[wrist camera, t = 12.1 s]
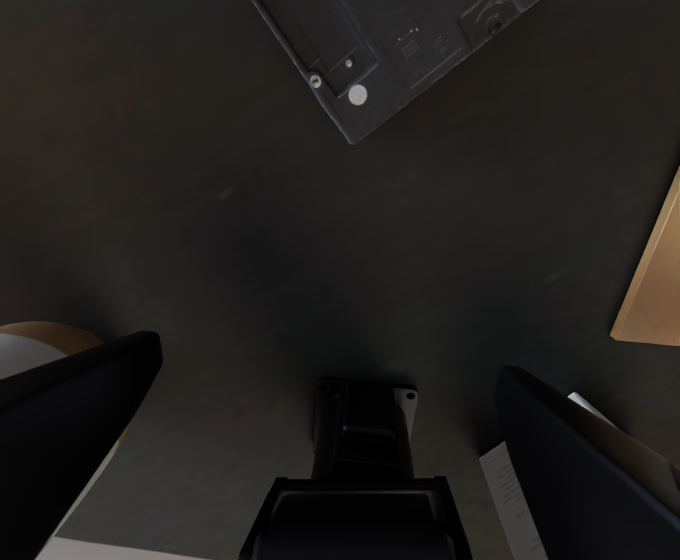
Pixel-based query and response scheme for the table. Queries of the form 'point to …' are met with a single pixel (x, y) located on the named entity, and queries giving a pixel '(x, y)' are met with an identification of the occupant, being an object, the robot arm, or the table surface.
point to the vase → (41, 348)
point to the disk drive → (381, 49)
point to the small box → (517, 498)
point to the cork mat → (656, 283)
